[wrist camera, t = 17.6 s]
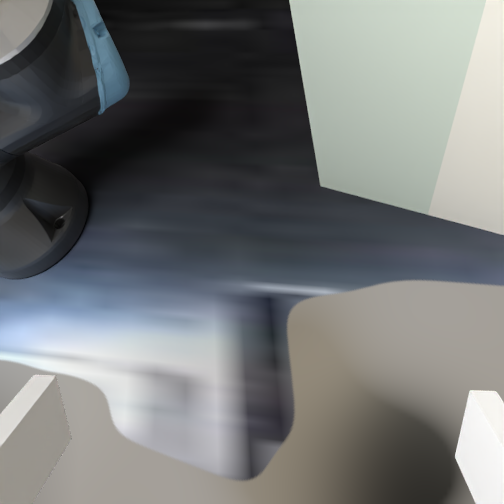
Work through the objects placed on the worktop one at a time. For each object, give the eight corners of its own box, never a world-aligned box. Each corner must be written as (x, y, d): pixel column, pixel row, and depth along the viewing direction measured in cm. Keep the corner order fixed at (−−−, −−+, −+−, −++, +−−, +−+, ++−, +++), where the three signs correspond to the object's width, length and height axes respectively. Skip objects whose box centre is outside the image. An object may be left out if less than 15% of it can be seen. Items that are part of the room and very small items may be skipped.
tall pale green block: (560, 250, 35) (1140, -330, 9) (320, 186, 44) (254, -210, 17) (588, 141, 39) (1065, -511, 12) (360, 101, 47) (356, -337, 21)
